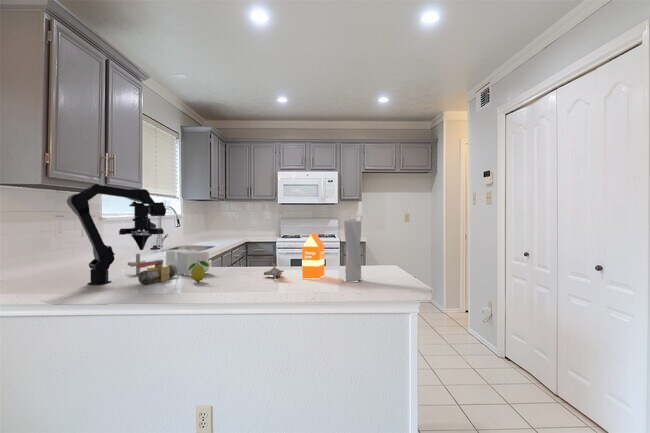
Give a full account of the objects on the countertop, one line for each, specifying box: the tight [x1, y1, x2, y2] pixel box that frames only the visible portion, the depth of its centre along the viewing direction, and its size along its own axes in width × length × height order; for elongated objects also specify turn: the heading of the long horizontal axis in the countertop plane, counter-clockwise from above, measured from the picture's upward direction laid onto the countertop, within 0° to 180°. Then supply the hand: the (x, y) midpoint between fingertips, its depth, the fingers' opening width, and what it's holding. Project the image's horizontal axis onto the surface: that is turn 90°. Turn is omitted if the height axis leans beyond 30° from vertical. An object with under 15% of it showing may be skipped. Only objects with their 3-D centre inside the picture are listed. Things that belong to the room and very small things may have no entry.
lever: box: [137, 259, 164, 269], centre depth 152 cm, size 15×4×2 cm, turn 172°
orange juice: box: [301, 233, 325, 278], centre depth 160 cm, size 8×9×20 cm
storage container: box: [165, 248, 210, 276], centre depth 182 cm, size 25×11×11 cm, turn 46°
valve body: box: [137, 263, 177, 286], centre depth 157 cm, size 20×6×7 cm, turn 174°
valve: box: [263, 262, 284, 280], centre depth 160 cm, size 8×12×10 cm
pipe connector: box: [127, 253, 147, 275], centre depth 177 cm, size 10×10×10 cm
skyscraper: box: [343, 214, 363, 283], centre depth 152 cm, size 8×8×28 cm
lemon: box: [189, 261, 210, 283], centre depth 152 cm, size 7×6×10 cm
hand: (141, 250), depth 165 cm, fingers closed
